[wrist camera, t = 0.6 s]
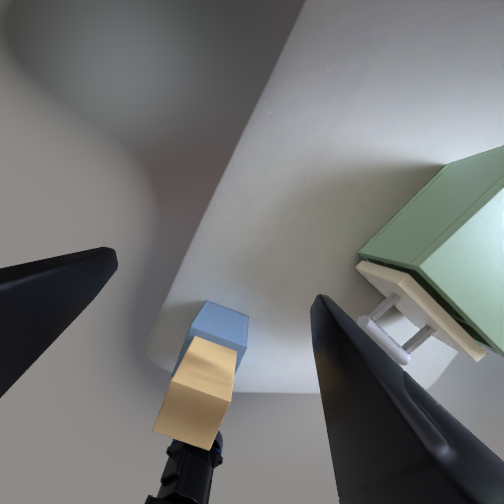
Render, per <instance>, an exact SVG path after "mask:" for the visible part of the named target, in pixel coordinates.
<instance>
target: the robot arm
mask: <svg viewBox="0 0 504 504" xmlns="http://www.w3.org/2000/svg"><path fill="white" fill-rule="evenodd" d="M117 268H118V261H117V256H116V252H115V250H114V249H112V248H107V247H100V248H95V249H90V250H85V251H81V252H76V253H72V254H66V255H62V256H57V257H52V258H47V259H43V260H38V261H33V262H29V263H24V264H19V265H15V266H10V267H5V268H0V398H1V397H2V396H3V395H4V394H5V392H7V391H8V389H9V388H10V387H11V386H12V385H13V384H14V383H15V382H16V381H17V380H18V379H19V378H20V377H21V376H22V375H23V374H24V373H25V371H26V370H27V369H28V368H29V367H30V366H31V365H32V364H33V363H34V362H35V361H36V360H37V359H38V358H39V357H40V356H41V354H43V352H44V351H45V350H46V349H47V348H48V347H49V346H50V345H51V344H52V343H53V342H54V341H55V340H56V339H57V338H58V337H59V336H60V334H61V333H62V332H63V331H64V330H65V329H66V328H67V327H68V326H69V325H70V324H71V323H72V322H73V321H74V320H75V319H76V318H77V317H78V315H79V314H80V313H81V312H82V311H83V310H84V309H85V308H86V307H87V306H88V305H89V304H90V303H91V301H92V300H93V299H94V298H95V297H96V296H97V295H98V293H99V292H100V291H101V289H102V288H103V287H104V285H105V284H106V283H107V282H108V280H109V279H110V278H111V277H112V275H113V274H114V273H115V271H116V270H117ZM310 316H311V332H312V345H313V352H314V358H315V363H316V369H317V375H318V381H319V387H320V392H321V398H322V404H323V409H324V415H325V421H326V427H327V433H328V439H329V444H330V450H331V456H332V461H333V467H334V473H335V479H336V485H337V491H338V496H339V498H340V499H339V503H340V504H504V462H503V461H502V460H501V459H500V458H499V457H498V456H497V455H496V454H494V452H492V451H491V450H490V449H489V448H488V447H487V446H486V445H485V444H483V443H482V442H481V441H480V440H479V439H478V438H477V437H476V436H474V435H473V434H472V433H471V432H470V431H469V430H468V429H467V428H465V427H464V426H463V425H462V424H461V423H460V422H459V421H458V420H456V419H455V418H454V417H453V416H452V415H451V414H450V413H449V412H448V411H447V410H446V409H444V408H443V407H442V406H441V405H440V404H439V403H438V402H437V401H436V400H435V399H434V398H433V397H432V396H430V395H429V394H428V393H427V392H426V391H425V390H424V389H423V388H422V387H421V386H420V385H419V384H418V383H417V382H416V381H415V380H414V379H413V378H412V377H411V376H410V375H409V374H408V373H407V372H406V371H403V369H402V368H401V367H400V366H399V365H398V364H397V363H396V362H395V361H394V360H393V359H392V358H391V357H390V356H389V355H388V354H387V353H386V352H385V351H384V350H383V349H382V348H381V347H380V346H379V345H378V344H377V343H376V342H375V341H374V340H373V339H372V338H371V337H370V336H369V335H368V334H367V333H366V332H365V331H364V330H363V329H362V328H360V327H359V326H358V325H357V324H356V323H355V322H354V321H353V320H352V319H351V318H350V317H349V316H348V315H347V314H346V313H345V312H344V311H343V310H342V309H341V308H340V307H339V306H338V305H337V304H336V303H335V302H334V301H333V300H332V299H331V298H330V297H329V296H327V295H322V294H318V295H317V296H316V298H315V300H314V302H313V304H312V306H311V309H310ZM166 453H167V455H168V456H169V458H168V461H167V464H166V466H165V469H164V472H163V474H162V477H161V481H160V482H161V487H160V489H159V492H158V495H157V497H153V495H148V498H147V499H146V502H145V504H208V502H209V495H210V489H211V483H212V477H213V471H214V468H215V467H217V466H219V465H221V464H222V463H223V458H222V456H221V455H220V453H219V452H218V451H217V449H216V448H215V447H214V445H213V444H212V446H211V448H210V450H206V449H203V448H200V447H197V446H194V445H191V444H188V443H185V442H182V441H178V442H176V443H174V444H172V445H171V446H169V447H168V448H167V450H166Z"/></svg>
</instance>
